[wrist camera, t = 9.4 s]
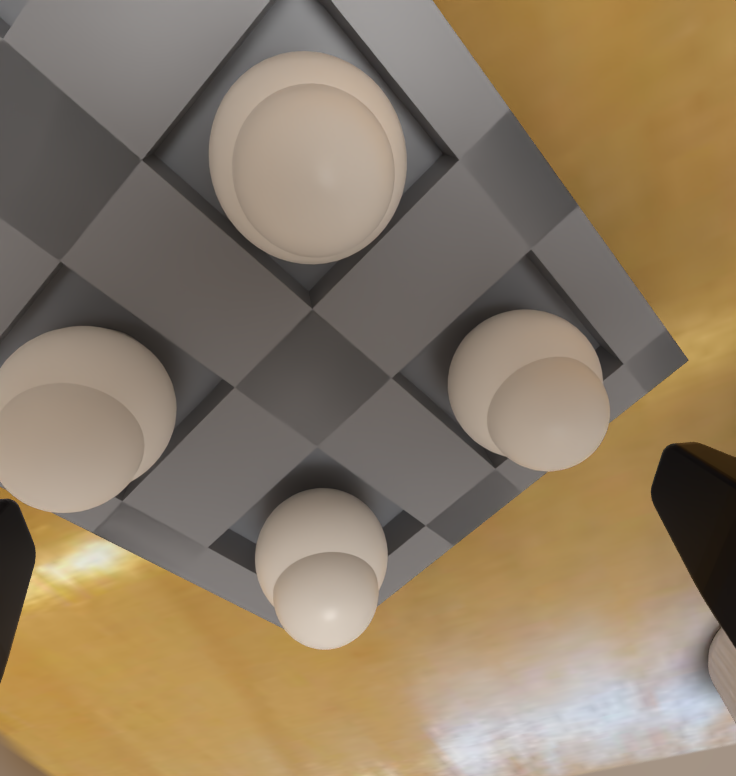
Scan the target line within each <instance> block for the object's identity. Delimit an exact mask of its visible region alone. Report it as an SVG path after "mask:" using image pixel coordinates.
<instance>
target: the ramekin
mask: <svg viewBox="0 0 736 776" xmlns="http://www.w3.org/2000/svg"><path fill="white" fill-rule="evenodd" d="M708 660H709V661H708V669H709V675H710V677H711V679H712V682H713V684H714V686H715V687H716V689H717V691H718V693H719V694H720V696H721V698H722V700H723V702H724V703H725V705H726V707H727V709H728V711H729V712H730V714H731V716H732V718H733V720H734V721H735V723H736V649H735V647H734V646H733V644H732V643H731V641H730V640H729V638H728V636H727V635H726V633H725V632H724V630H723V629H722V627H721V628H720V629H719V631H718V632H717V634H716V635H715V637H714V639H713V641H712V643H711V645H710V649H709V655H708Z"/></svg>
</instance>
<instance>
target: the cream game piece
mask: <svg viewBox="0 0 736 776" xmlns="http://www.w3.org/2000/svg"><path fill="white" fill-rule="evenodd" d="M176 410H177V407H176V397H175V392H174V388H173V385H172V382H171V379H170V377H169V375H168V373H167V372H166V370H165V368H164V366H163V365H162V364H161V362H160V361H159V360H158V358H157V357H156V356H155V355H154V354H153V353H152V352H151V351H150V350H149V349H147V348H146V347H145V346H144V345H142V344H141V343H140V342H138V341H137V340H136V339H134V338H133V337H131V336H129V335H127V334H125V333H123V332H120V331H116V330H112V329H106V328H101V327H94V326H72V327H66V328H61V329H56V330H52V331H49V332H46V333H44V334H41V335H39V336H37V337H35V338H34V339H32V340H30V341H28V342H26V343H25V344H24V345H22V346H21V347H19V348H18V349H17V350H16V351H15V352H14V353H13V354H12V355H11V356H10V357H9V358H8V359H7V360H6V361H5V362H4V364H3V365H2V366H1V368H0V482H1V483H2V485H3V486H4V487H5V488H6V490H7V491H8V492H10V493H11V494H12V495H13V496H14V497H16V498H17V499H19V500H20V501H21V502H23V503H25V504H27V505H29V506H31V507H34V508H37V509H40V510H43V511H48V512H55V513H72V512H80V511H84V510H88V509H91V508H94V507H97V506H99V505H101V504H103V503H105V502H107V501H109V500H110V499H112V498H113V497H115V496H116V495H118V494H119V493H120V492H121V491H122V490H123V489H124V488H125V487H126V486H127V485H128V484H129V483H130V482H131V481H133V480H135V479H136V478H138V477H139V476H141V475H142V474H143V473H145V472H146V471H147V470H148V469H149V468H150V467H151V466H152V465H153V464H154V463H155V462H156V461H157V460H158V459H159V458H160V456H161V455H162V453H163V451H164V450H165V448H166V447H167V445H168V443H169V441H170V438H171V436H172V433H173V430H174V426H175V421H176Z"/></svg>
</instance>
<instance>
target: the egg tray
mask: <svg viewBox="0 0 736 776" xmlns="http://www.w3.org/2000/svg"><path fill="white" fill-rule="evenodd" d="M72 326H94V327H101V328H106V329H112V330H116V331H120V332H123V333H125V334H127V335H129V336H131V337H133V338H134V339H136V340H137V341H138V342H140V343H141V344H142V345H144V346H145V347H146V348H147V349H149V350H150V351H151V352H152V353H153V354H154V355H155V356H156V357H157V358H158V360H159V361H160V362H161V364H162V365H163V366H164V368H165V370H166V372H167V373H168V375H169V377H170V379H171V382H172V385H173V388H174V392H175V397H176V407H177V410H176V421H175V426H174V430H173V433H172V436H171V438H170V441H169V443H168V445H167V447H166V448H165V450H164V451H163V453H162V455H161V456H160V458H159V459H158V460H157V461H156V462H155V463H154V464H153V465H152V466H151V467H150V468H149V469H148V470H147V471H146V472H145V473H143V474H142V475H141V476H139V477H138V478H136V479H135V480H133V481H131V482H130V483H129V484H128V485H127V486H126V487H125V488H124V489H123V490H122V491H121V492H120V493H119V494H118V495H116V496H115V497H113V498H112V499H110V500H109V501H107V502H105V503H103V504H101V505H99V506H97V507H94V508H91V509H88V510H84V511H80V512H72V513H55V512H52V513H54V514H56V515H58V516H60V517H62V518H64V519H66V520H68V521H70V522H72V523H74V524H76V525H78V526H80V527H82V528H84V529H86V530H88V531H90V532H92V533H94V534H96V535H98V536H100V537H102V538H104V539H106V540H108V541H110V542H112V543H114V544H116V545H118V546H120V547H122V548H124V549H126V550H128V551H130V552H132V553H134V554H136V555H138V556H140V557H142V558H144V559H146V560H148V561H150V562H152V563H154V564H156V565H158V566H160V567H162V568H164V569H166V570H168V571H170V572H172V573H174V574H176V575H178V576H180V577H182V578H184V579H186V580H188V581H190V582H192V583H194V584H196V585H198V586H200V587H202V588H204V589H206V590H208V591H210V592H212V593H214V594H216V595H218V596H220V597H222V598H223V599H225V600H227V601H229V602H231V603H233V604H235V605H237V606H239V607H241V608H243V609H245V610H247V611H249V612H251V613H253V614H255V615H257V616H259V617H261V618H263V619H265V620H267V621H269V622H271V623H273V624H275V625H277V626H279V627H281V628H283V629H285V631H286V632H287V633H288V634H289V635H290V636H291V637H292V638H293V639H295V640H296V641H298V642H299V643H301V644H303V645H305V646H308V647H311V648H315V649H334V648H338V647H341V646H344V645H346V644H348V643H350V642H352V641H353V640H355V639H356V638H357V637H358V636H360V635H361V634H362V633H363V631H364V630H365V629H366V628H367V627H368V625H369V624H370V622H371V620H372V618H373V616H374V613H375V611H376V608H377V606H378V605H380V604H381V603H382V602H383V601H385V600H386V599H387V598H388V597H390V596H391V595H392V594H394V593H395V592H396V591H397V590H399V589H400V588H401V587H402V586H404V585H405V584H406V583H407V582H409V581H410V580H411V579H413V578H414V577H415V576H416V575H418V574H419V573H420V572H421V571H423V570H424V569H425V568H426V567H428V566H429V565H430V564H432V563H433V562H434V561H435V560H437V559H438V558H439V557H440V556H442V555H443V554H444V553H445V552H447V551H448V550H449V549H450V548H452V547H453V546H454V545H456V544H457V543H458V542H459V541H461V540H462V539H463V538H464V537H466V536H467V535H468V534H469V533H471V532H472V531H473V530H475V529H476V528H477V527H478V526H480V525H481V524H482V523H483V522H485V521H486V520H487V519H488V518H490V517H491V516H492V515H494V514H495V513H496V512H497V511H499V510H500V509H501V508H502V507H504V506H505V505H506V504H507V503H509V502H510V501H511V500H513V499H514V498H515V497H516V496H518V495H519V494H520V493H521V492H523V491H524V490H525V489H526V488H528V487H529V486H530V485H531V484H533V483H534V482H535V481H537V480H538V479H539V478H540V477H542V476H543V475H544V474H545V473H547V472H548V471H557V470H563V469H567V468H570V467H573V466H575V465H577V464H579V463H581V462H582V461H584V460H585V459H587V458H588V457H589V456H590V455H591V454H592V453H593V452H594V451H595V450H596V449H597V448H598V447H599V445H600V444H601V442H602V440H603V438H604V436H605V434H606V432H607V429H608V425H609V423H610V422H611V421H612V420H614V419H615V418H616V417H618V416H619V415H620V414H621V413H623V412H624V411H625V410H626V409H628V408H629V407H630V406H631V405H633V404H634V403H635V402H637V401H638V400H639V399H640V398H642V397H643V396H644V395H645V394H647V393H648V392H649V391H650V390H652V389H653V388H654V387H656V386H657V385H658V384H659V383H661V382H662V381H663V380H664V379H666V378H667V377H668V376H669V375H671V374H672V373H673V372H674V371H676V370H677V369H678V368H680V367H681V366H682V365H683V364H685V363H686V362H687V361H688V359H687V357H686V356H685V355H684V353H683V352H682V350H681V349H680V347H679V346H678V345H677V343H676V342H675V340H674V339H673V338H672V336H671V335H670V333H669V332H668V331H667V329H666V328H665V326H664V325H663V324H662V322H661V321H660V319H659V318H658V317H657V315H656V314H655V312H654V311H653V310H652V308H651V307H650V305H649V304H648V303H647V301H646V300H645V298H644V297H643V296H642V294H641V293H640V291H639V290H638V288H637V287H636V286H635V284H634V283H633V281H632V280H631V279H630V277H629V276H628V274H627V273H626V272H625V270H624V269H623V267H622V266H621V265H620V263H619V262H618V260H617V259H616V258H615V256H614V255H613V253H612V252H611V251H610V249H609V248H608V246H607V245H606V244H605V242H604V241H603V239H602V238H601V237H600V235H599V234H598V232H597V231H596V230H595V228H594V227H593V225H592V224H591V222H590V221H589V220H588V218H587V217H586V215H585V214H584V213H583V211H582V210H581V208H580V207H579V206H578V204H577V203H576V201H575V200H574V199H573V197H572V196H571V194H570V193H569V192H568V190H567V189H566V187H565V186H564V185H563V183H562V182H561V180H560V179H559V178H558V176H557V175H556V173H555V172H554V171H553V169H552V168H551V166H550V165H549V163H548V162H547V161H546V159H545V158H544V156H543V155H542V154H541V152H540V151H539V149H538V148H537V147H536V145H535V144H534V142H533V141H532V140H531V138H530V137H529V135H528V134H527V133H526V131H525V130H524V128H523V127H522V126H521V124H520V123H519V121H518V120H517V119H516V117H515V116H514V114H513V113H512V112H511V110H510V109H509V107H508V106H507V104H506V103H505V102H504V100H503V99H502V97H501V96H500V95H499V93H498V92H497V90H496V89H495V88H494V86H493V85H492V83H491V82H490V81H489V79H488V78H487V76H486V75H485V74H484V72H483V71H482V69H481V68H480V67H479V65H478V64H477V62H476V61H475V60H474V58H473V57H472V55H471V54H470V53H469V51H468V50H467V48H466V47H465V46H464V44H463V43H462V41H461V40H460V38H459V37H458V36H457V34H456V33H455V31H454V30H453V29H452V27H451V26H450V24H449V23H448V22H447V20H446V19H445V17H444V16H443V15H442V13H441V12H440V10H439V9H438V8H437V6H436V5H435V3H434V2H433V1H432V0H0V368H1V366H2V365H3V364H4V362H5V361H6V360H7V359H8V358H9V357H10V356H11V355H12V354H13V353H14V352H15V351H16V350H17V349H18V348H19V347H21V346H22V345H24V344H25V343H26V342H28V341H30V340H32V339H34V338H35V337H37V336H39V335H41V334H44V333H46V332H49V331H52V330H56V329H61V328H66V327H72ZM0 487H2V488H4V489H6V488H5V487H4V486H3V485H2V483H1V482H0Z"/></svg>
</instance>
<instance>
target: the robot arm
mask: <svg viewBox="0 0 736 776" xmlns="http://www.w3.org/2000/svg"><path fill="white" fill-rule="evenodd" d="M651 497H652V501H653V504H654V506H655V508H656V510H657V512H658V514H659V516H660V518H661V520H662V522H663V524H664V526H665V527H666V529H667V531H668V533H669V535H670V537H671V539H672V541H673V543H674V545H675V547H676V549H677V551H678V552H679V554H680V556H681V558H682V560H683V562H684V564H685V566H686V568H687V570H688V572H689V574H690V575H691V577H692V579H693V581H694V583H695V585H696V587H697V588H698V590H699V592H700V594H701V596H702V597H703V599H704V600H705V602H706V604H707V605H708V607H709V609H710V610H711V612H712V613H713V615H714V616H715V618H716V619H717V621H718V623H719V624H720V626H721V627H722V629H723V630H724V632H725V633H726V635H727V636H728V638H729V640H730V641H731V643H732V644H733V646H734V647H735V649H736V457H733V456H731V455H728V454H726V453H723V452H721V451H718V450H716V449H713V448H711V447H708V446H706V445H703V444H701V443H697V442H686V443H674V444H670V445H668V446H667V447H666V448H665V449H664V450H663V452H662V455H661V458H660V461H659V465H658V468H657V471H656V474H655V477H654V480H653V483H652V487H651ZM35 557H36V552H35V546H34V542H33V540H32V537H31V535H30V532H29V530H28V527H27V525H26V522H25V520H24V517H23V515H22V512H21V510H20V508H19V506H18V504H17V503H16V502H15V501H13V500H11V499H0V682H1V680H2V677H3V674H4V670H5V667H6V664H7V661H8V658H9V654H10V650H11V647H12V643H13V640H14V636H15V632H16V629H17V625H18V622H19V618H20V615H21V611H22V607H23V604H24V600H25V597H26V593H27V589H28V586H29V582H30V579H31V575H32V571H33V568H34V564H35Z"/></svg>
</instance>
